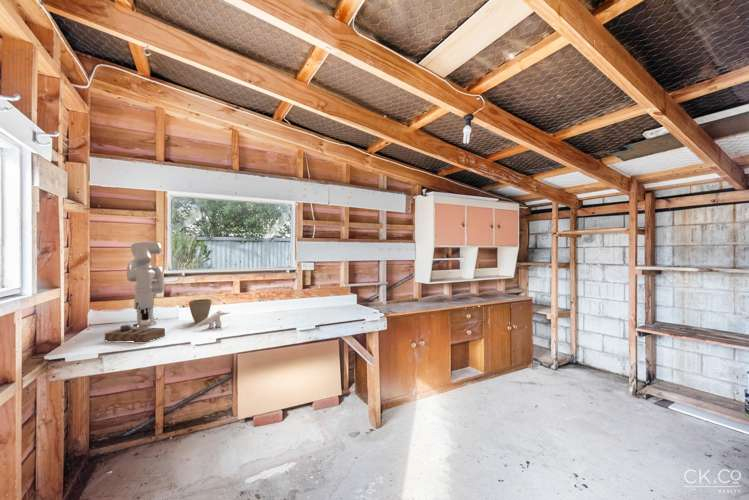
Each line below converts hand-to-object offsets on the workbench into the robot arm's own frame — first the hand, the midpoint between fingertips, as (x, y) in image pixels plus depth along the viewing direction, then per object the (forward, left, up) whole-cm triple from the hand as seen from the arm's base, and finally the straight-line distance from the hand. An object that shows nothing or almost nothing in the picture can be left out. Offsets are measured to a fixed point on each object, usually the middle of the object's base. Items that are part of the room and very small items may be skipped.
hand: (145, 319), depth 193 cm
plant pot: (-42, +6, -12) cm, 44 cm away
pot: (0, -7, -7) cm, 10 cm away
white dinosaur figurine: (-28, +25, -12) cm, 40 cm away
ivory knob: (0, 0, -8) cm, 8 cm away
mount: (0, -7, -12) cm, 14 cm away
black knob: (0, -14, -12) cm, 19 cm away
